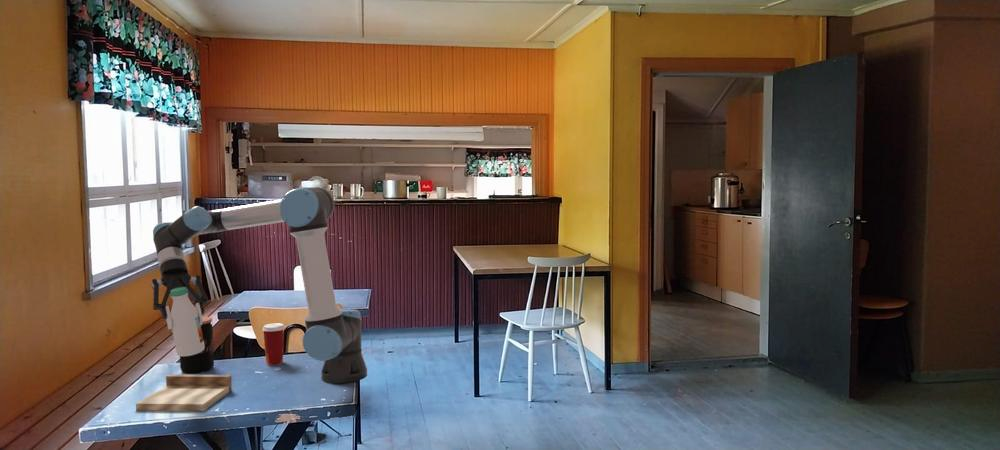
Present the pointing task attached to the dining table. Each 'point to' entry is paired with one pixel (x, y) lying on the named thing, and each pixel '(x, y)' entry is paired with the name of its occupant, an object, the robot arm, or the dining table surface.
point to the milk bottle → (185, 324)
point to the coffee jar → (206, 357)
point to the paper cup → (274, 343)
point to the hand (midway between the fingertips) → (185, 324)
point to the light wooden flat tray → (187, 393)
